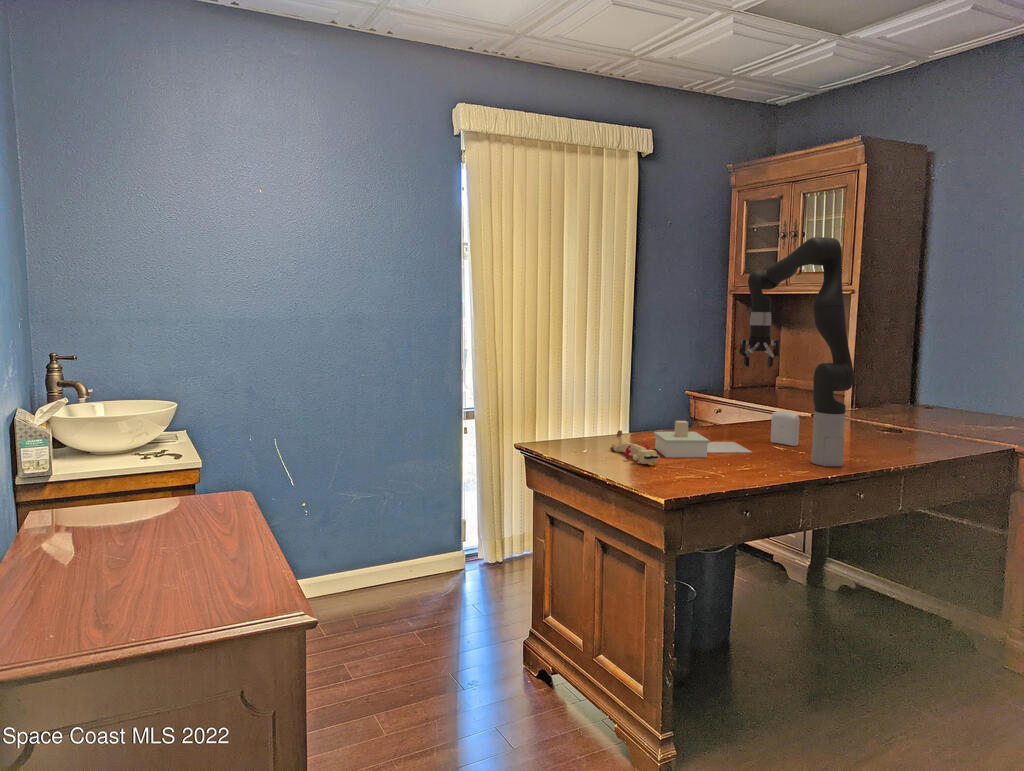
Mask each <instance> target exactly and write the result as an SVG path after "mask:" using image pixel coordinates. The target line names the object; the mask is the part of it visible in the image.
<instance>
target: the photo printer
mask: <svg viewBox="0 0 1024 771" xmlns="http://www.w3.org/2000/svg"><path fill="white" fill-rule="evenodd" d="M799 433H800V416H799V414H797V413H794V412H793V411H787V410H777V411H773V412H772V415H771V424H770V443H772V444H773V443H774V444H780V445H787V446H790V447H791V446H793V447H798V445H799V437H800V434H799Z"/></svg>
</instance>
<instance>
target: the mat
mask: <svg viewBox="0 0 1024 771" xmlns="http://www.w3.org/2000/svg"><path fill="white" fill-rule="evenodd" d="M707 454H753V451H752V450H749V449H748V448H746V447H745V446H742V445H740V444H739V443H737V442H735V441H710V443H708V444H707Z"/></svg>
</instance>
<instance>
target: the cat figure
mask: <svg viewBox="0 0 1024 771" xmlns="http://www.w3.org/2000/svg"><path fill="white" fill-rule="evenodd" d="M622 435H623V430H617V433H616V438H617V440H618V442H619V443H618V444H617V445H616V443H611V447H609V449H610V451H611V452H619V453H624V454H623V456H624V458H625V459H626V460H627V461H631V460H630V457H629V456H630V454H632V460H634V461H636V464H637V463H638V464H642V465H649V466H655V464H656V463H657V462H658V459H660V455H659V454H658V453H657V450H653V449H651V448H650V446H648V444H645V443H644V442H643V443H642V445H644V446H645V447H644V446H641V445H639V444H637V443H636V444H635V443H631V442H624V441H623V438H622Z"/></svg>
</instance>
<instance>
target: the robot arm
mask: <svg viewBox="0 0 1024 771" xmlns="http://www.w3.org/2000/svg"><path fill="white" fill-rule="evenodd" d="M841 245H842V244H841V243H840V241H839V240H838V239H837V238H834V237H823V236H813V237H810V238H809V239H807V240H806V241H804V242H803V243H802V244H800V245H799V246H798V247H797V248H796V249H795V250H794V251H792V252H791V253H790V254H788V255H787V256H786V257H784V258H783V259H782V258H781V259H780V260H778V261H776V262H774V263H773V264H771V265H769V267H768V268H767V269H766V270H759V269H758V270H753V271H751V272H750V273H749V276H748V278H747V285H748V289H749V294H750V299H751V313H750V319H749V334H748V335H749V338H748V339H743V338H742V339H740V343H739V344H740V345H739V353H738V354H739V355H740V356H742V357H743V365H744V366H745V368H749V367H750V360H751V359H750V356H751V354H753V353H754V352H764V353H766V354H767V356H768V357H767V362H766V365H767V366H766V367H767V368H772V367H773V366H774V357H777V356H779V355H780V348H779V347H780V344H779V340H778V339H773V340H772V339H771V334H772V333H771V332H772V329H771V328H772V304H773V303H772V297H770V296H768V295H765V294H764V293H763V290H766V291H767V290H773V289H775V288H776V287H777V288H778V286H779V285H780V284H781V282H783V281H785V280H788V279H790V278H792V277H793V276H794V275H795V274H796V273H797V272H798V270H799V268H800V267H805V266H809V265H812V266H822V270H823V281H822V282H823V283H822V285H821V287H820V290H819V291H818V293H817V295H816V297H815V300H814V303H813V315H814V316H813V317H814V318H813V319H814V325H815V327H816V330H817V331H818V333H819V334H820V337H822V338H823V340H824V341H825V343H826V344H827V346H828V348H829V350H830V353H831V358H832V362H824V363H820V364H818V365H817V366H816V368H815V369H814V373H813V382H812V383H813V389H812V390H813V391H812V393H813V395H812V398H813V405H814V410H813V412H814V413H813V426H812V442H811V453H810V454H811V456H810V462H811V463H812V464H814V465H818V466H822V467H843V458H844V446H845V438H844V433H845V422H846V421H845V419H846V408H847V407H846V404H845V403H843V402H841V401H838V400H837V399H835V397H834V396H835V395H834V392H848V391H849V390H851V388H852V387H853V384H854V380H855V377H854V376H855V375H854V373H855V372H854V368H853V362H852V361H853V360H852V356H851V352H850V346H849V342H848V333H847V332H848V331H847V325H846V324H847V323H846V321H847V320H846V309H845V303H844V295H843V294H844V293H843V279H842V278H843V275H842V274H843V269H842V266H843V252H842V246H841ZM747 345H748V346H749V347H748V348H747V349H746V346H747ZM770 345H772V350H771V348H770V347H769V346H770Z"/></svg>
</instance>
